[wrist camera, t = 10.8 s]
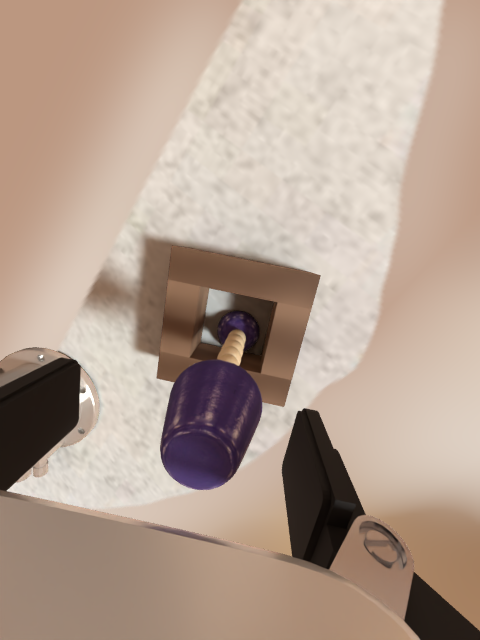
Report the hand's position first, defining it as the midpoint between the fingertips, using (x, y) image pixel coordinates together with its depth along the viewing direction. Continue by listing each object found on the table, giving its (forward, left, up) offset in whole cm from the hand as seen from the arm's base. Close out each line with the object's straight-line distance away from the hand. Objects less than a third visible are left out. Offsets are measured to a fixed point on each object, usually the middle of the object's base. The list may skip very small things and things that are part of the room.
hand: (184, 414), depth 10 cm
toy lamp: (0, -1, -15) cm, 15 cm away
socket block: (0, -1, -15) cm, 15 cm away
